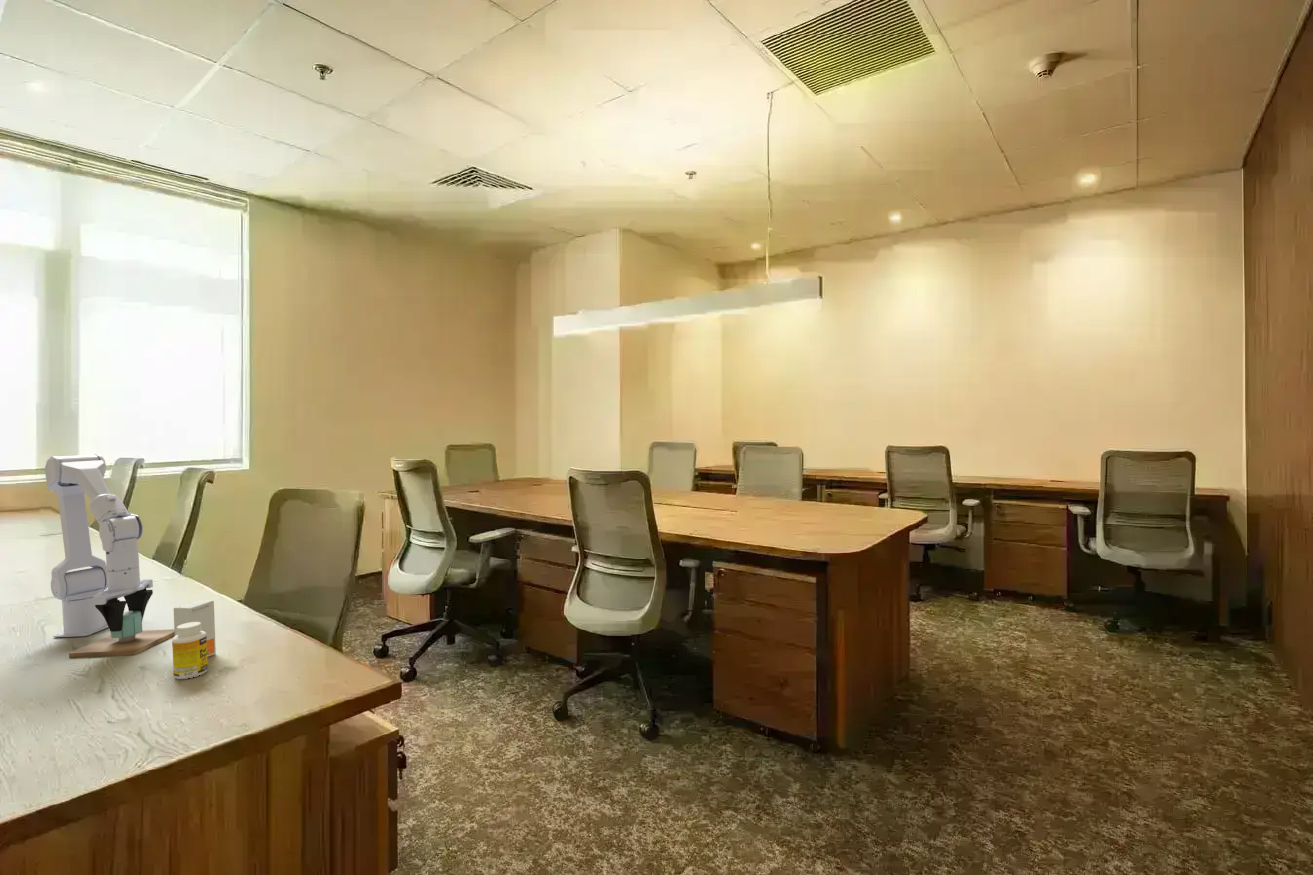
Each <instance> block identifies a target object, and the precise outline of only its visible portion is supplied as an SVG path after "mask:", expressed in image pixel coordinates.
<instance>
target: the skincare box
mask: <svg viewBox="0 0 1313 875" xmlns="http://www.w3.org/2000/svg"><path fill="white" fill-rule="evenodd" d="M215 619H216V618H215V601H214V600H207V599H205V600H204V599H199V600H195V601H191V602H187V603H185V604H183V605H179V606H176V607H174V608H173V623H174V624H173V625H174V628H173V629H174V632H175V636H176V635H177V626H179V625H181V624H185V623H190V622H200V623H201V627H202V628H201V631H204V632H206V638H207V658H209V657H211V656H215V655H216V653H217V652H216V650H217V648H216V628H215V627H216V625H215V623H216V622H215ZM175 636H174V637H175ZM214 654H215V655H214Z"/></svg>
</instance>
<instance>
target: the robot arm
mask: <svg viewBox="0 0 1313 875" xmlns="http://www.w3.org/2000/svg"><path fill="white" fill-rule="evenodd" d="M45 462H46V463H45V466H44V473H45V474H44V475H45V479H46V480H45V483H46V487H47V490H48V491H49V492H53V493H56V496H57V501H58V502H57V503H58V510H59V516H60V517H59V518H60V525H61V526H60V527H61V532H62V540H63V541H62V542H63V548H64V555H65V556H64V557H65V558H64V559H63V560H62V561H60V562H59V563H58V564H57V565H56V566H54V567H53V568H52V570H51V580H50V590H51V593H52V596H53V597H54V598H56V599H57V600H60V601H61V607H62V609H61V610H62V621H63V622H62V624H63V625H62V626H63V631H62V632H61V631H60V632H59V633H57V634H54V635H53V638H70V637H71V638H72V637H74V638H76V637H88V636H90V635H93V634H95V633H98V632H100V631H102V630H105V629H108V630H109V631H110V633H111V632H115V631H121V630H122V627H123V613H124V612H125V608H126V606H127V609H128V611H141V615H142V621H143V619H144V616H145V611H146V608H147V605H148V603H149V601H150V599H151V598H152V596H153V595H154V594H153V592H154V591H153V589H151V588H153V587H154V583H153V581H154V580H153V579H152V578H150V579H149V578H147V579H146V578H145V579H142V580H141V577H140V576H141V575H140V574H141V573H140V557H139V556H140V555H139V554H140V553H139V539H140V538H142V536H143V531H144V530H143V528H144V526H143V521H142V520H141V518H140V516H139V514H134V512H129V511H128V509H127V508H126V505H125V504H124V502H123V501H122V499H121V498H120V497H119V495H117V494H113V493H111V491H110V490H109V487H108V485H107V483H106V481H105V479H104V478H105V473H106V469H107V466H106V465H107V463H106V460H105V459H104V457H103V456H102V455H101V454H99V453H94V454H84V455H82V454H80V455H63V456H61V455H60V456H56V455H51V456H49V458H47V460H46V461H45ZM85 495H86V496H87V497H88V498H89V499H90V501H91V502H89V506H88V508H89V510H90V512H91V514H92V516H93V517H94V518H95V520H96V521H97V523H98V525H99V528H98V534H99V538H100V540H101V543H102V544H101V546H102V550H103V551H105V559H106V560H104V559H102V558H100V557H97V556H94V555H93V553H92V544H91V536H90V528H89V521H88V513H87V504H86V498H85ZM89 567H91V568H89ZM76 569H77V570H76ZM78 569H79V570H78ZM120 598H124V600H120Z"/></svg>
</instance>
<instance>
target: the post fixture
mask: <svg viewBox="0 0 1313 875" xmlns="http://www.w3.org/2000/svg"><path fill="white" fill-rule="evenodd" d="M174 637H175V632H174V628H173V629H146V630H145V629H144V630H142V632H141V633H139V634H136V635H133V636H129V637H124V638H112V637H111V635H108V636H106V637H103V638H101V639H99V640H97V641H95V642H92V643H90V644H88V645H85V646H83V647H81V648H77V649H76V650H73V651H71V652H68V658H69V659H72V658H73V659H74V658H92V657H115V656H119V657H120V656H136V655H139V653H141V652H143V651H146V650H147V649H149V648H152V647H153V646H156V645H158V644H160V642H161V643H162V641H163V642H164V640H165V641H166V639H167V640H169V639H171V638H174Z"/></svg>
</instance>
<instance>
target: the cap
mask: <svg viewBox="0 0 1313 875" xmlns="http://www.w3.org/2000/svg"><path fill="white" fill-rule="evenodd" d="M142 631H143V620H142V615H141V611H129V610H128V611H124V613H123V627H122V630H121V631H115V632H110V636H111V637H112V638H124V637H129V636H133V635H136V634H139V633H141V632H142Z"/></svg>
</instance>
